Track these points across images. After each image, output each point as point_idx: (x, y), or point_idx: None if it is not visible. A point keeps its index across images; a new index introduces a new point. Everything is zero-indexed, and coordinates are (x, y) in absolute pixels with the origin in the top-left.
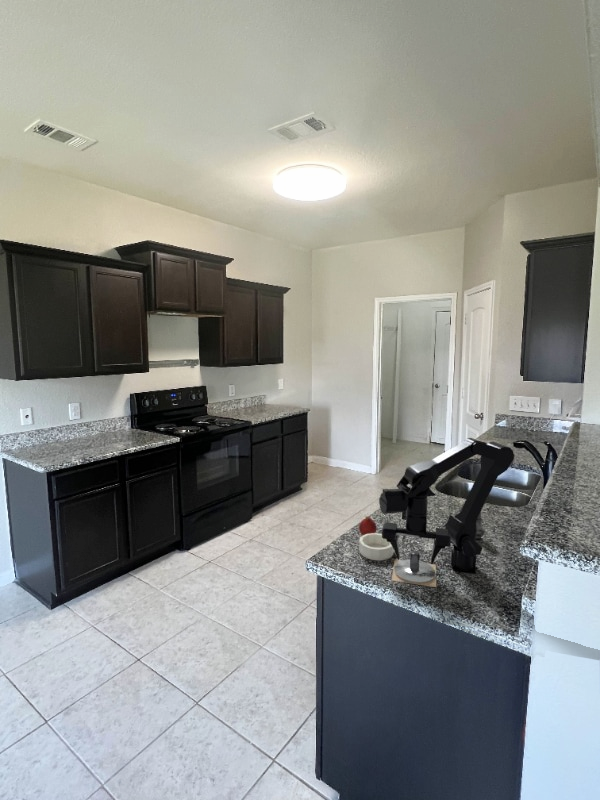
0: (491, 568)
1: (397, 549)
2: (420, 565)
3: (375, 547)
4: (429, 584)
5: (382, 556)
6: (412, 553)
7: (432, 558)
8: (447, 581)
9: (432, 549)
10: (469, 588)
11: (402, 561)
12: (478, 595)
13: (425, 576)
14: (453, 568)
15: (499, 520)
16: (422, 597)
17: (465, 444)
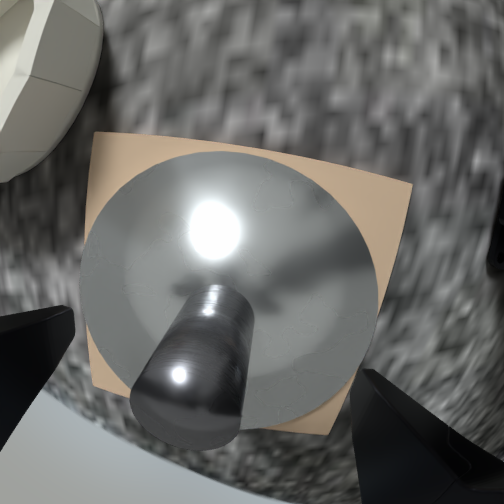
0: None
1: (6, 436)
2: (279, 251)
3: (10, 40)
4: (297, 422)
5: (9, 171)
6: (154, 411)
7: (363, 467)
8: (415, 365)
9: (420, 449)
10: (478, 395)
11: (131, 200)
12: (478, 426)
13: (286, 393)
14: (500, 246)
15: None
16: (241, 475)
17: None
